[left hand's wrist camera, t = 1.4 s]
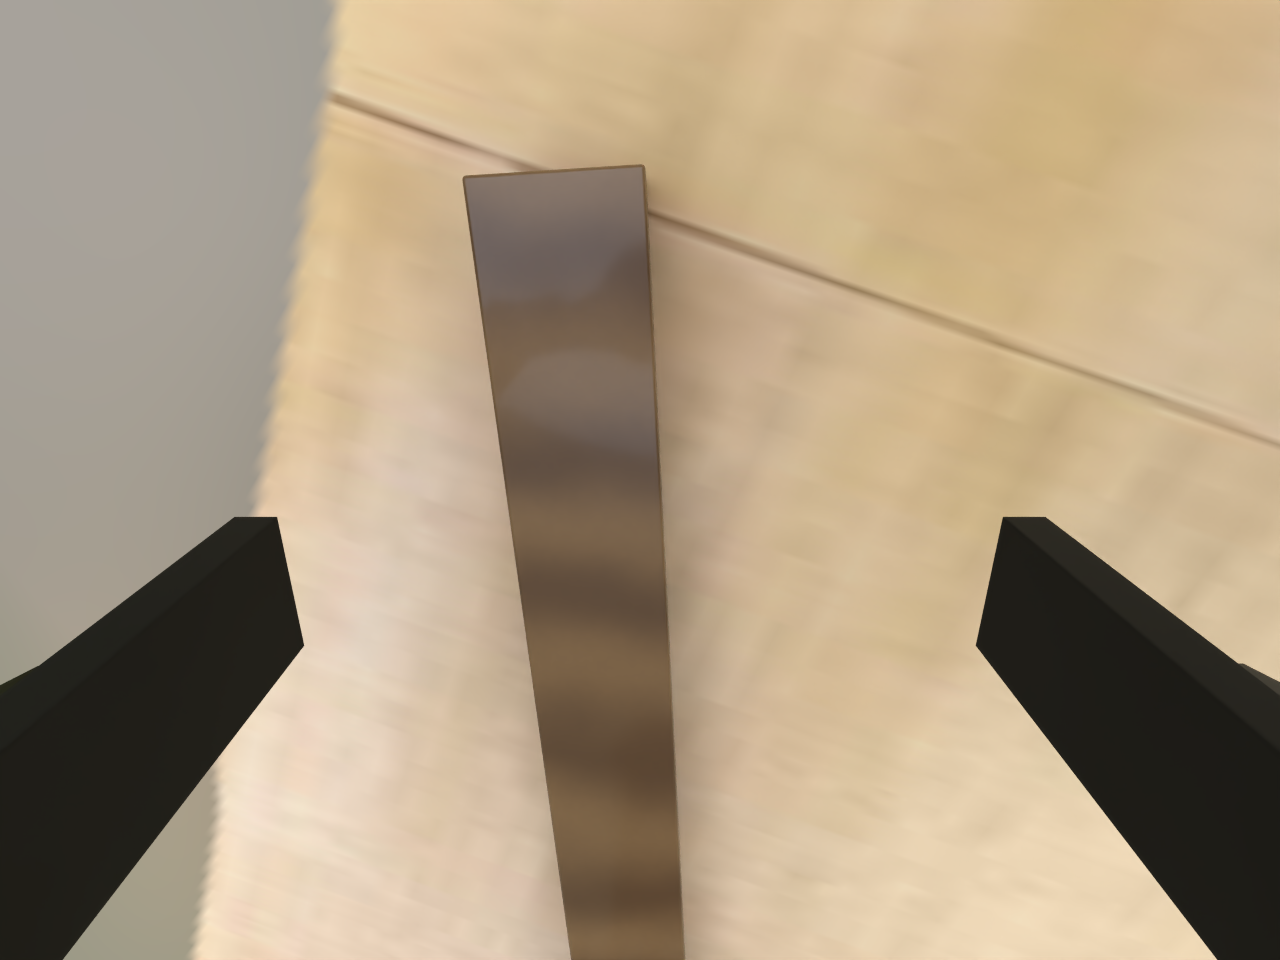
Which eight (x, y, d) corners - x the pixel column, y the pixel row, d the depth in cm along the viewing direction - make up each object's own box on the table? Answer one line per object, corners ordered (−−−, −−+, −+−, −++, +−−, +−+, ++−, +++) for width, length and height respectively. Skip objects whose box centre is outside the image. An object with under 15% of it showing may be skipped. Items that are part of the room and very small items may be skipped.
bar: (515, 184, 26) (460, 175, 19) (646, 176, 26) (644, 163, 19) (624, 1142, 50) (620, 1313, 42) (694, 1140, 50) (702, 1313, 42)
